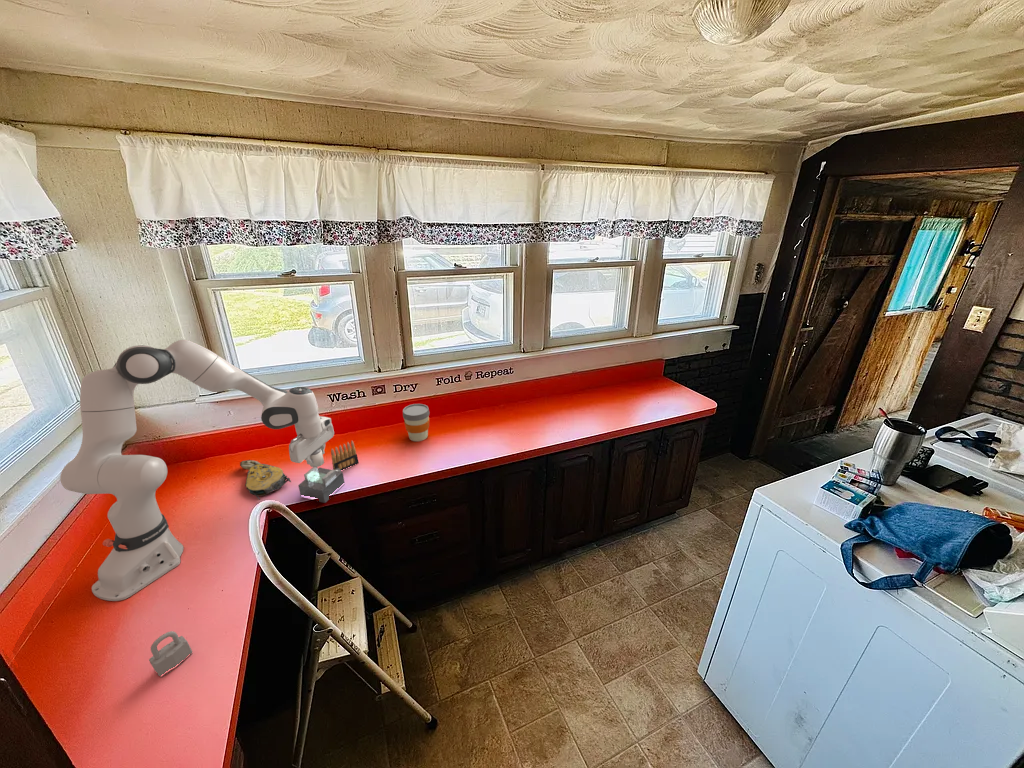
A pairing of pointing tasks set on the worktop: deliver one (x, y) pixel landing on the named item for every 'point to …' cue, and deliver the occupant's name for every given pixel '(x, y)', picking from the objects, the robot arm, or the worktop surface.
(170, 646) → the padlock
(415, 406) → the reusable coffee cup
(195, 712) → the worktop surface
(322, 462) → the white domed cylinder
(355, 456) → the ammunition clip
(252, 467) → the pulley block
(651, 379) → the worktop surface
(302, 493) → the motor
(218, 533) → the worktop surface
